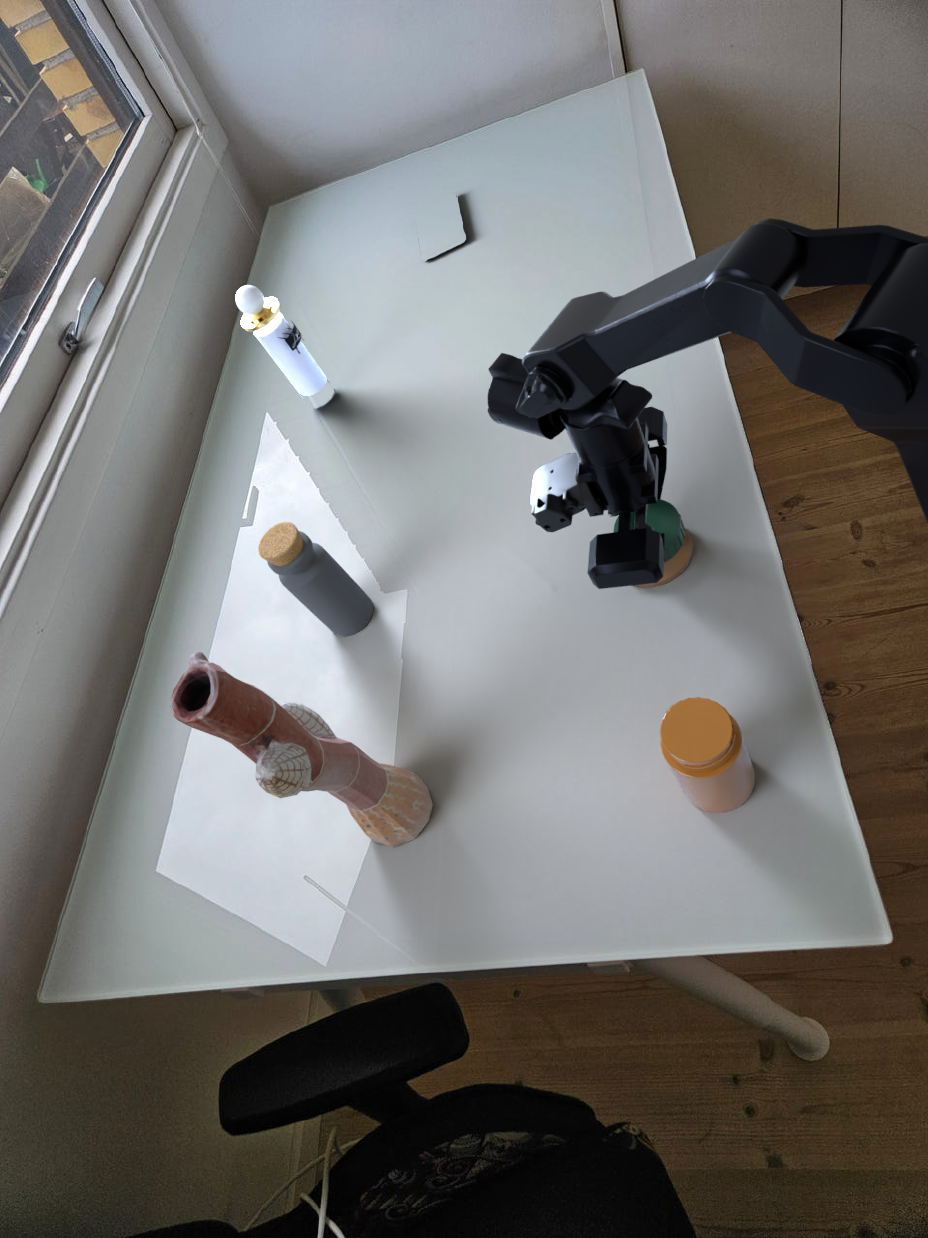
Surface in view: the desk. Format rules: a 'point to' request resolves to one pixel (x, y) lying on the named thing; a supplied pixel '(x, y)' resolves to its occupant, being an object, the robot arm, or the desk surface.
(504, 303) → the desk surface
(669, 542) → the jar lid
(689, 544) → the coaster
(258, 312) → the perfume bottle
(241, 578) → the desk surface
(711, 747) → the honey jar
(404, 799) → the vase
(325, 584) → the bottle
